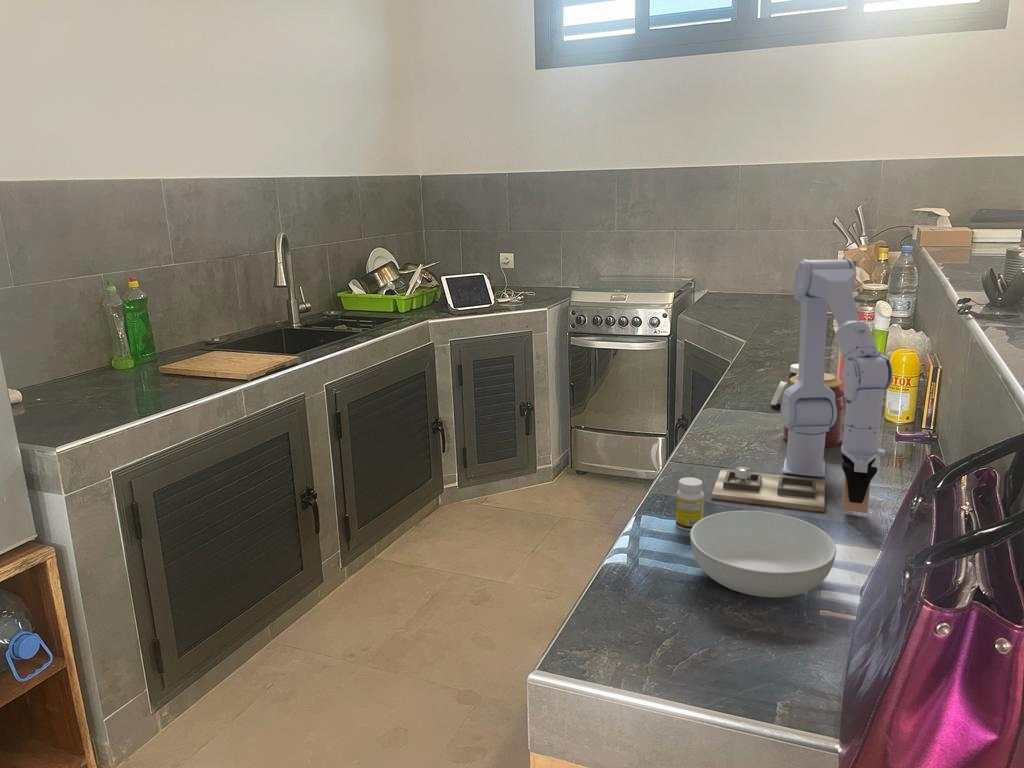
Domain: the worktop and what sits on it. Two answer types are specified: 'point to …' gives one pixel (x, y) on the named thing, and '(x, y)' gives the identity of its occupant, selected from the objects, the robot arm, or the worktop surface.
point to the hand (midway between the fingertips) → (855, 497)
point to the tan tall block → (854, 506)
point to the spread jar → (781, 386)
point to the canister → (834, 384)
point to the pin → (743, 475)
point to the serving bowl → (762, 552)
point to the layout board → (772, 491)
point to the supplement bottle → (689, 503)
